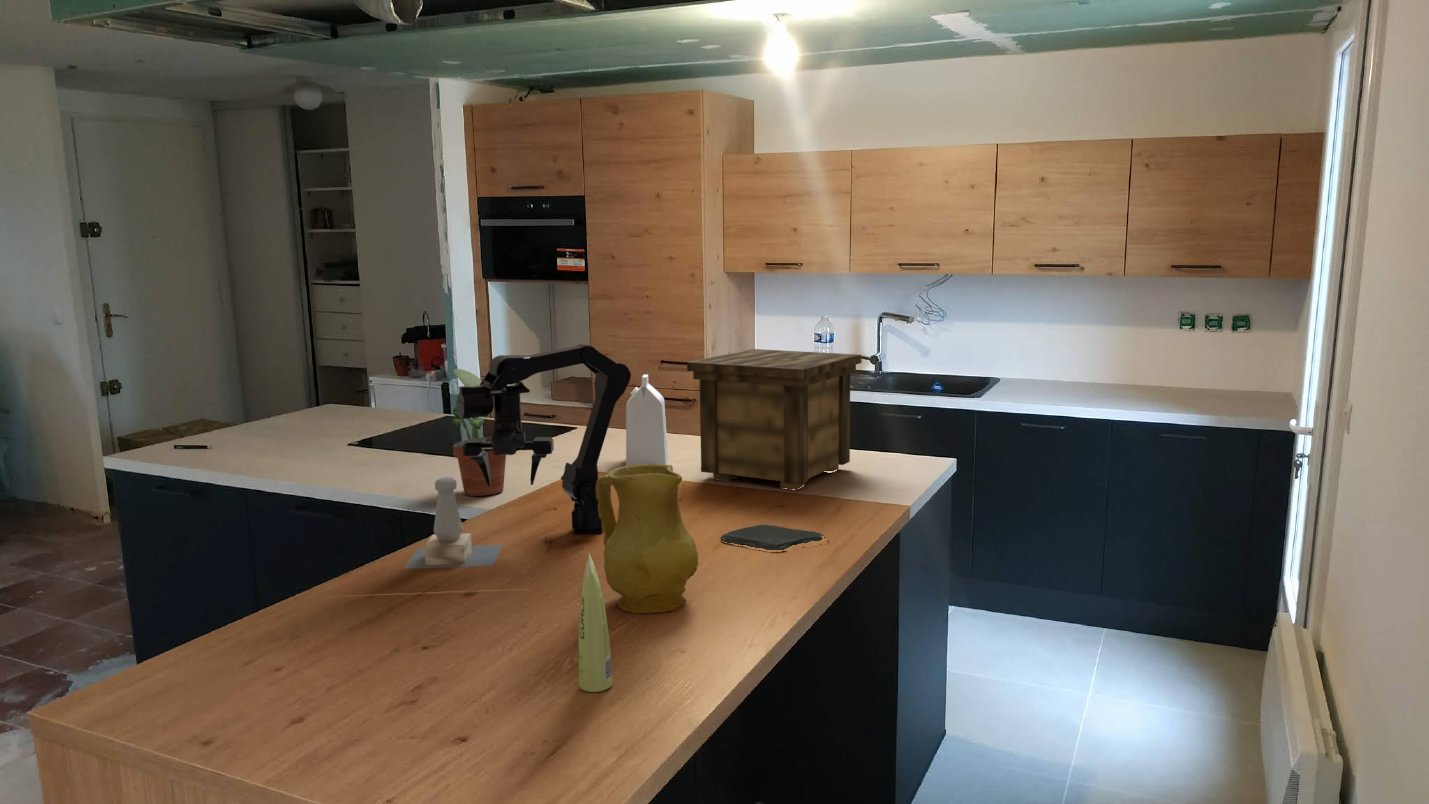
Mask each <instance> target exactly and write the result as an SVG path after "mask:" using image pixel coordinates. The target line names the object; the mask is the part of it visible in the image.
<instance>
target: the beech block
mask: <svg viewBox="0 0 1429 804" xmlns="http://www.w3.org/2000/svg"><path fill="white" fill-rule="evenodd" d="M472 546H473V545H472V534H471V532H470V533H466V532H465V533H461V535H460V538H459V540H456V541H453V542H441V541H439V540H438V538H437V537H436V535H435V534H431V536H430V538H429V539H428V540H427V542H426V543H425V544H424V545H423V548H424V552H425V565H436V564H465V563H466V561H467V559H468V557H469V556H470V554H471V552H472Z"/></svg>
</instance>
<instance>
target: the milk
mask: <svg viewBox="0 0 1429 804" xmlns="http://www.w3.org/2000/svg"><path fill="white" fill-rule="evenodd" d="M665 405H666V404H665V398H664V396H663V395H662V394H661V392H659V391H658V390H657V389H656V388H655V387H653V386H652V385H651V384H650V383H649V374H643V375H642V376H641V385H640V386H639V387H638V386H636V387H635V388H633V390H632V391H631V392H630V397H629V399H627V401H626V407H625V410H626V411H625V416H626V417H625V420H626V421H625V424H626V425H625V426H626V427H625V432H626V435H625V436H626V437H625V445H626V446H625V466H633V465H642V464H661V465H668V460H669V451H668V437H667V435H668V434H667V420H666V417H667V416H666V409H665V408H666V406H665Z"/></svg>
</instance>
